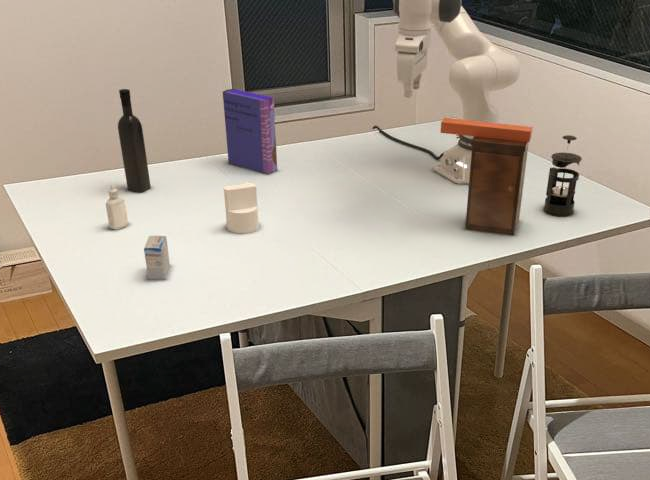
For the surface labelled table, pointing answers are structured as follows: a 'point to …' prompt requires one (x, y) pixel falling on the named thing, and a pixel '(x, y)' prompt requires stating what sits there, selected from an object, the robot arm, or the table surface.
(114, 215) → the eye dropper bottle
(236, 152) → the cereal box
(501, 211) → the cabinet
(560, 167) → the french press
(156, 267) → the medicine box
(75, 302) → the table surface
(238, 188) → the cylinder with rectangular tab
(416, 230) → the table surface
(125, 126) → the wine bottle
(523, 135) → the orange rectangular bar
